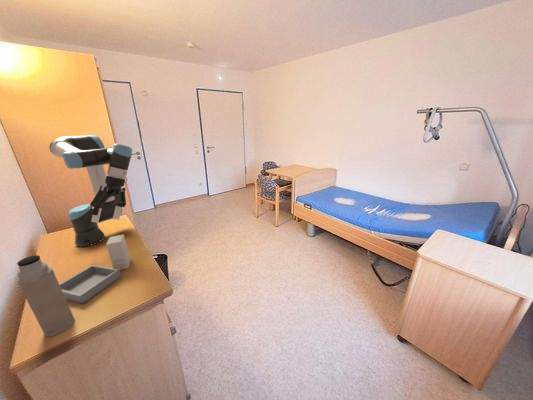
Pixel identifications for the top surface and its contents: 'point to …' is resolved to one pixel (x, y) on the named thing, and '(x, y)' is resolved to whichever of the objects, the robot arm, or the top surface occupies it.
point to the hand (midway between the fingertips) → (106, 220)
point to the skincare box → (118, 252)
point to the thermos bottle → (44, 295)
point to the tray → (89, 283)
